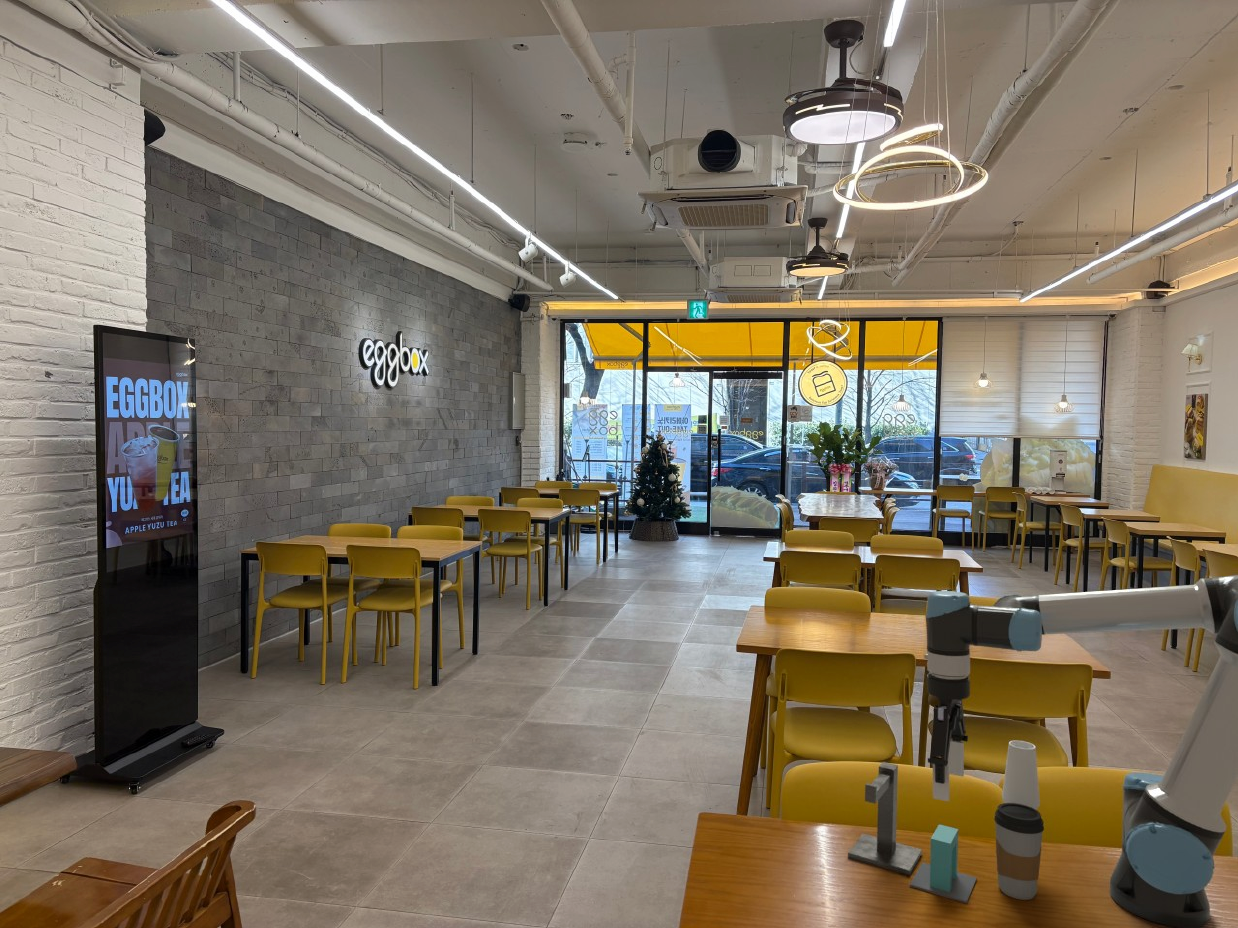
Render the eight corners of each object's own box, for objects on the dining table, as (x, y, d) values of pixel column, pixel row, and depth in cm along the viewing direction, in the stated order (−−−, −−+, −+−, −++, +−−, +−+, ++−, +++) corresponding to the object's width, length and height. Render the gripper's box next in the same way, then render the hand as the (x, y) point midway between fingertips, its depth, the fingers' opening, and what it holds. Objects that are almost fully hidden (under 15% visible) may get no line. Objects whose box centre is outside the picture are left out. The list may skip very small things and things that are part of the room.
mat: (976, 879, 154) (976, 877, 154) (966, 903, 146) (966, 901, 146) (922, 863, 160) (922, 861, 160) (909, 886, 152) (909, 884, 152)
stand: (921, 854, 164) (923, 765, 163) (900, 890, 150) (903, 793, 150) (862, 837, 170) (864, 752, 170) (837, 871, 157) (839, 778, 156)
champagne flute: (1029, 877, 156) (1032, 753, 155) (994, 863, 161) (997, 743, 160) (1043, 865, 160) (1046, 745, 160) (1009, 852, 165) (1012, 736, 165)
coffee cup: (1048, 906, 146) (1050, 823, 145) (998, 900, 147) (1001, 818, 147) (1034, 882, 154) (1036, 804, 154) (987, 876, 155) (989, 799, 155)
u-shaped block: (937, 870, 157) (939, 824, 157) (957, 875, 155) (958, 829, 155) (929, 885, 151) (930, 838, 151) (949, 891, 149) (950, 843, 149)
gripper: (941, 657, 165) (942, 761, 165) (911, 686, 144) (912, 805, 144) (981, 662, 161) (981, 769, 161) (956, 693, 140) (956, 815, 140)
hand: (948, 786), depth 152 cm, fingers open, 13 cm apart
